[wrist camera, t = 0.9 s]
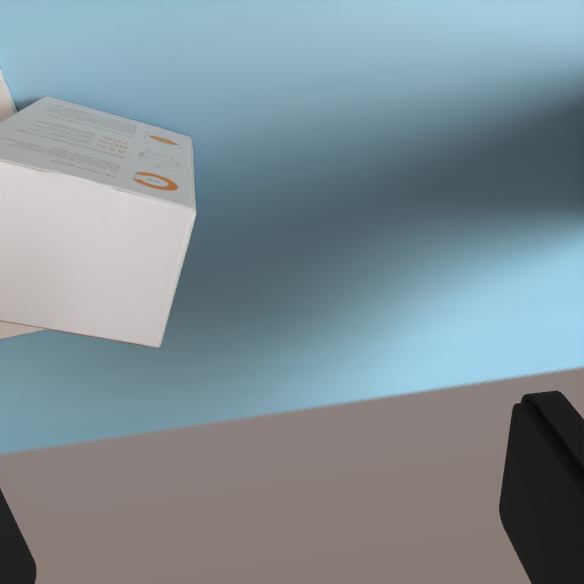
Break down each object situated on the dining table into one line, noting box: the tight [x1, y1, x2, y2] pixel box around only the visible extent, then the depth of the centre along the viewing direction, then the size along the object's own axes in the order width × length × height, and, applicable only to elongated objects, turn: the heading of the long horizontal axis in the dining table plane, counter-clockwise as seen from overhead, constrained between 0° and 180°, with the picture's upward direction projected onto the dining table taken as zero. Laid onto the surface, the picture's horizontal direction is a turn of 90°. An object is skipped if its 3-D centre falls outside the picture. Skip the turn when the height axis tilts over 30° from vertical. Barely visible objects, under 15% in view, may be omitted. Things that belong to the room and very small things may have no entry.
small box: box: [0, 96, 197, 348], centre depth 25 cm, size 8×6×13 cm
